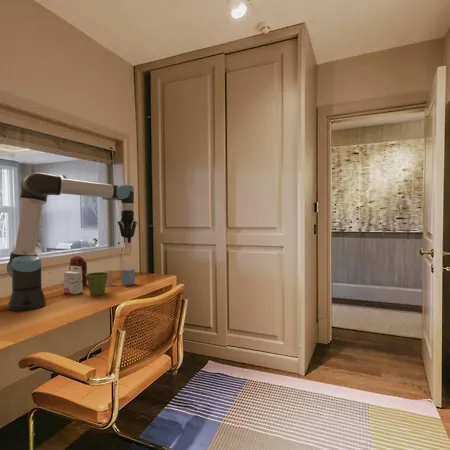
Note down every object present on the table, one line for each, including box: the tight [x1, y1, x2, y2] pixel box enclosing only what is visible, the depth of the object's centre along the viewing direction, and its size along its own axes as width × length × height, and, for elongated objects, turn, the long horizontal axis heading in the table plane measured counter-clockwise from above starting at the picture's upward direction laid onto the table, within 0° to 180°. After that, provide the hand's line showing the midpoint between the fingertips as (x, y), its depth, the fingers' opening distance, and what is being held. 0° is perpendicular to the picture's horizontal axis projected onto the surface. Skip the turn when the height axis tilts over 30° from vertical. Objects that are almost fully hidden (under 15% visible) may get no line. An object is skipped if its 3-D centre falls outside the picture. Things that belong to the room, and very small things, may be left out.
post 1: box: [105, 270, 117, 287], centre depth 191 cm, size 6×6×9 cm
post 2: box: [121, 282, 136, 287], centre depth 192 cm, size 6×6×9 cm
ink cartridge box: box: [63, 265, 83, 295], centre depth 172 cm, size 9×5×15 cm, turn 74°
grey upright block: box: [120, 268, 136, 285], centre depth 192 cm, size 6×6×9 cm
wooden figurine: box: [68, 255, 88, 287], centre depth 191 cm, size 12×6×18 cm, turn 86°
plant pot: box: [85, 271, 109, 297], centre depth 169 cm, size 12×12×11 cm
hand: (127, 248), depth 192 cm, fingers closed
